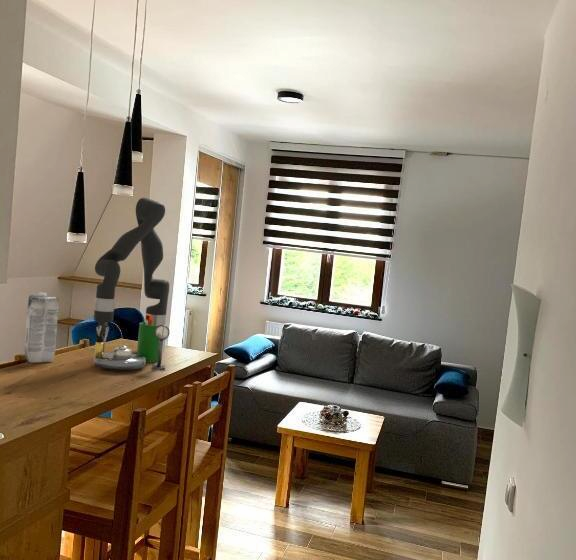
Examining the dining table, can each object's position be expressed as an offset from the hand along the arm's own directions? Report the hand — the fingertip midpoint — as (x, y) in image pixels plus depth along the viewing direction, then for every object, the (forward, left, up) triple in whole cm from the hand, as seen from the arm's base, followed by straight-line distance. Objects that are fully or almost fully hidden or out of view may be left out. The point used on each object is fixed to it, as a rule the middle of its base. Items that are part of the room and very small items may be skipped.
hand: (100, 352), depth 250 cm
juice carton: (+13, -19, -5) cm, 24 cm away
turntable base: (-3, +8, -5) cm, 10 cm away
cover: (-3, +9, -1) cm, 9 cm away
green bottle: (-23, +6, -5) cm, 24 cm away
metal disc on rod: (-14, +19, -5) cm, 24 cm away
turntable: (-3, +8, -4) cm, 9 cm away
